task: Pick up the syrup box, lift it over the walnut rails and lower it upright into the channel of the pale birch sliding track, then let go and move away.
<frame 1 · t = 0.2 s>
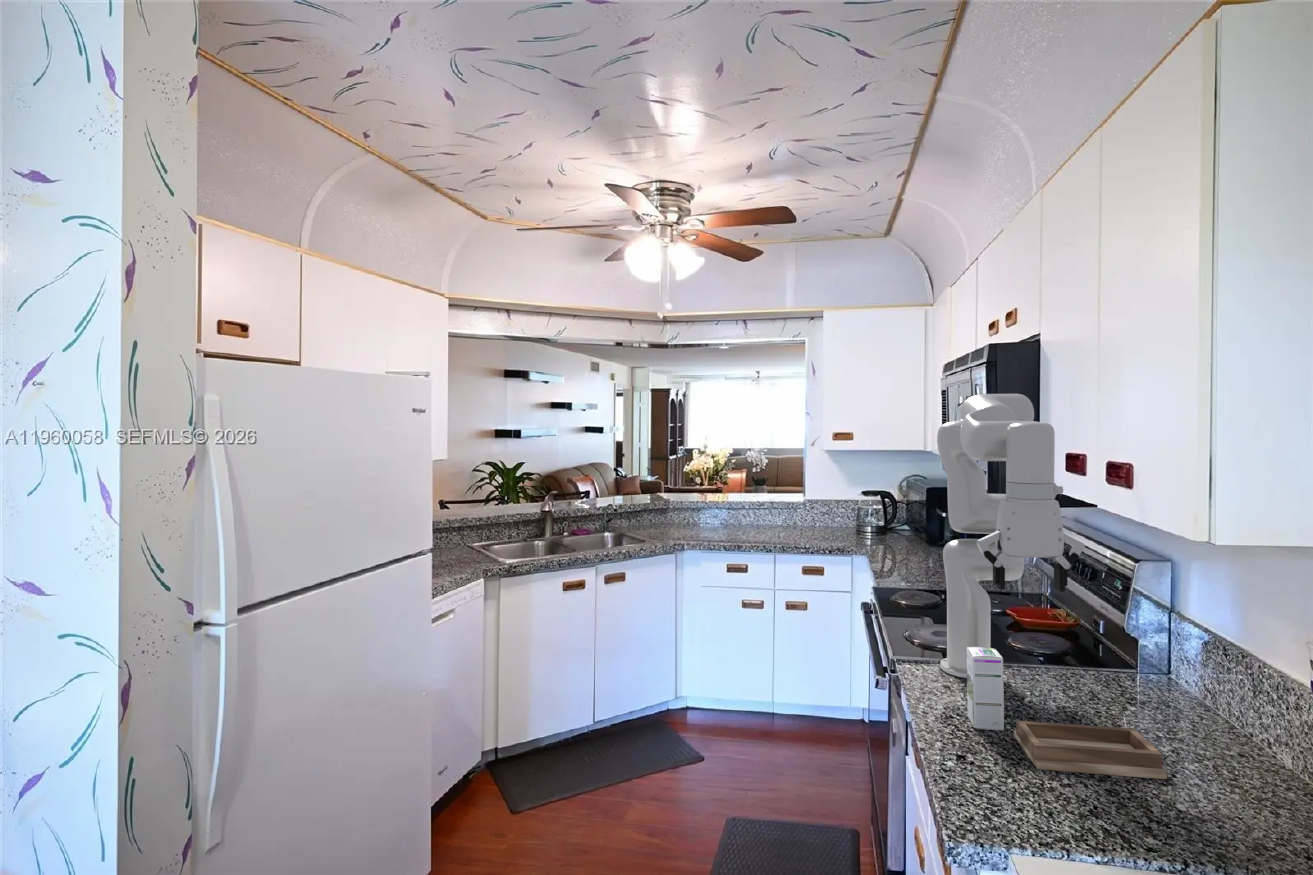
hand: (1029, 589, 123), 31 cm above the worktop, tool pointing down, fingers open, 9 cm apart
bottom track: (1085, 755, 125), on the worktop
syrup box: (984, 724, 138), on the worktop
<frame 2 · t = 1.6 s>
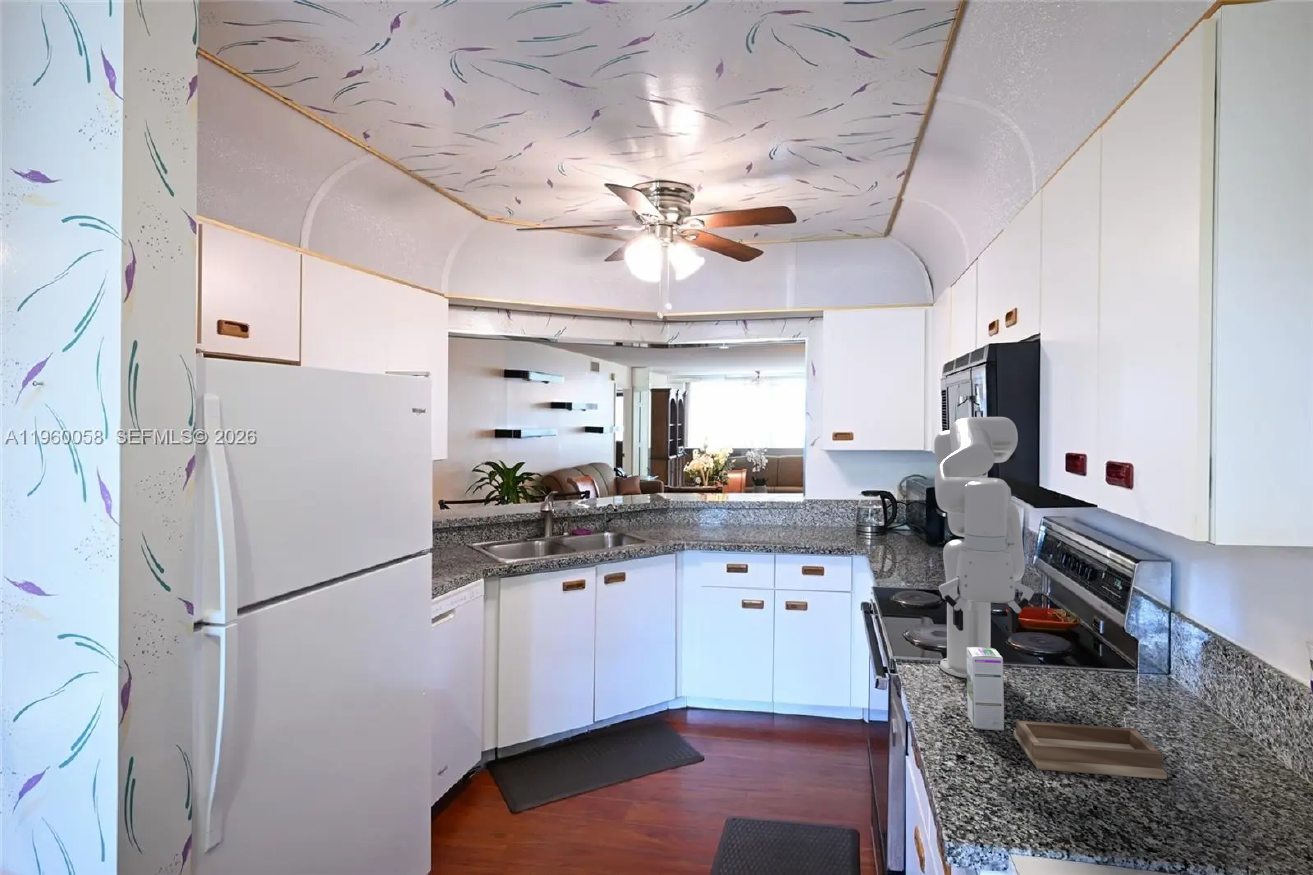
hand: (985, 630, 137), 19 cm above the worktop, tool pointing down, fingers open, 9 cm apart
nothing on the worktop moved.
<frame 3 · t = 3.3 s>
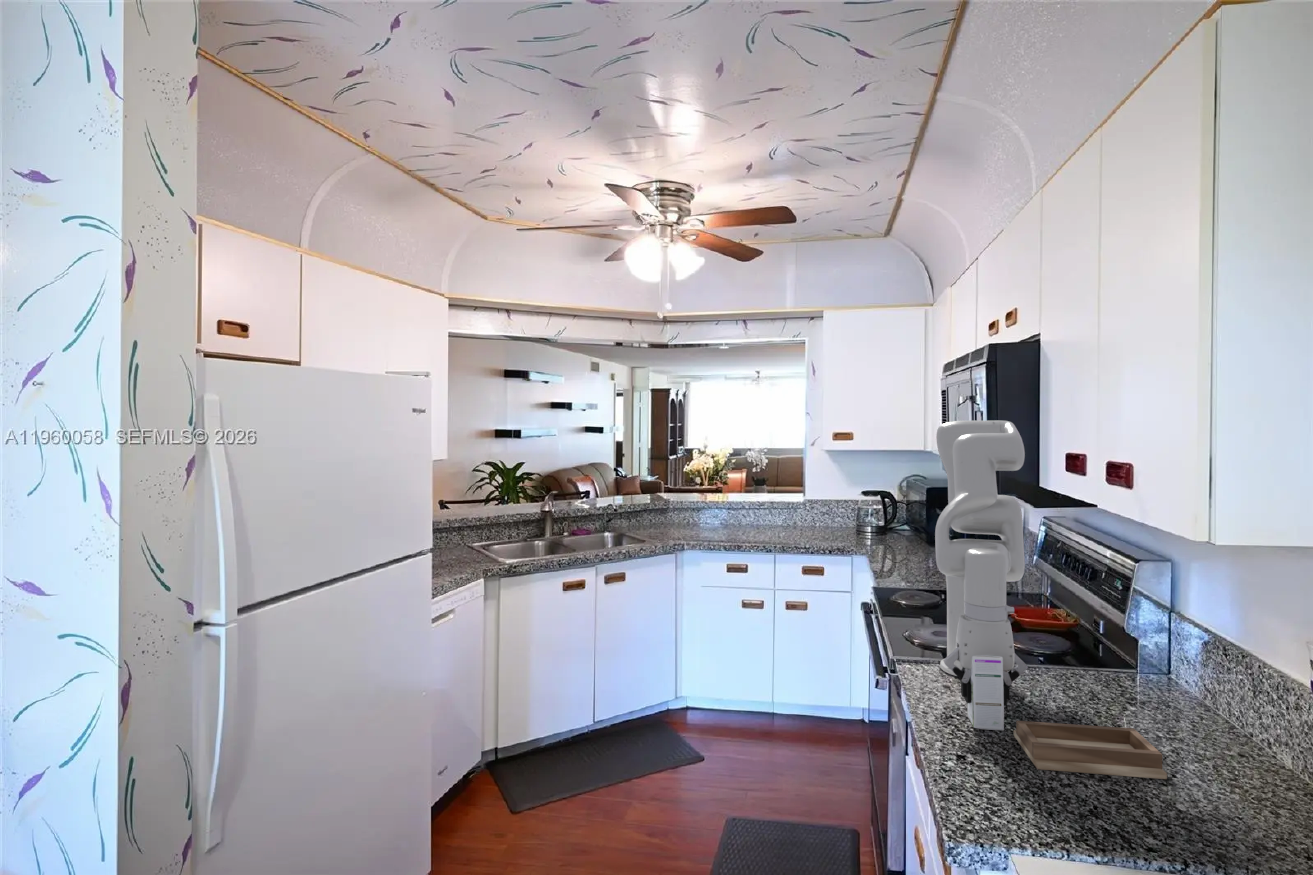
hand: (984, 700, 138), 5 cm above the worktop, tool pointing down, fingers closed on syrup box, 5 cm apart
syrup box: (984, 724, 138), on the worktop, touching gripper
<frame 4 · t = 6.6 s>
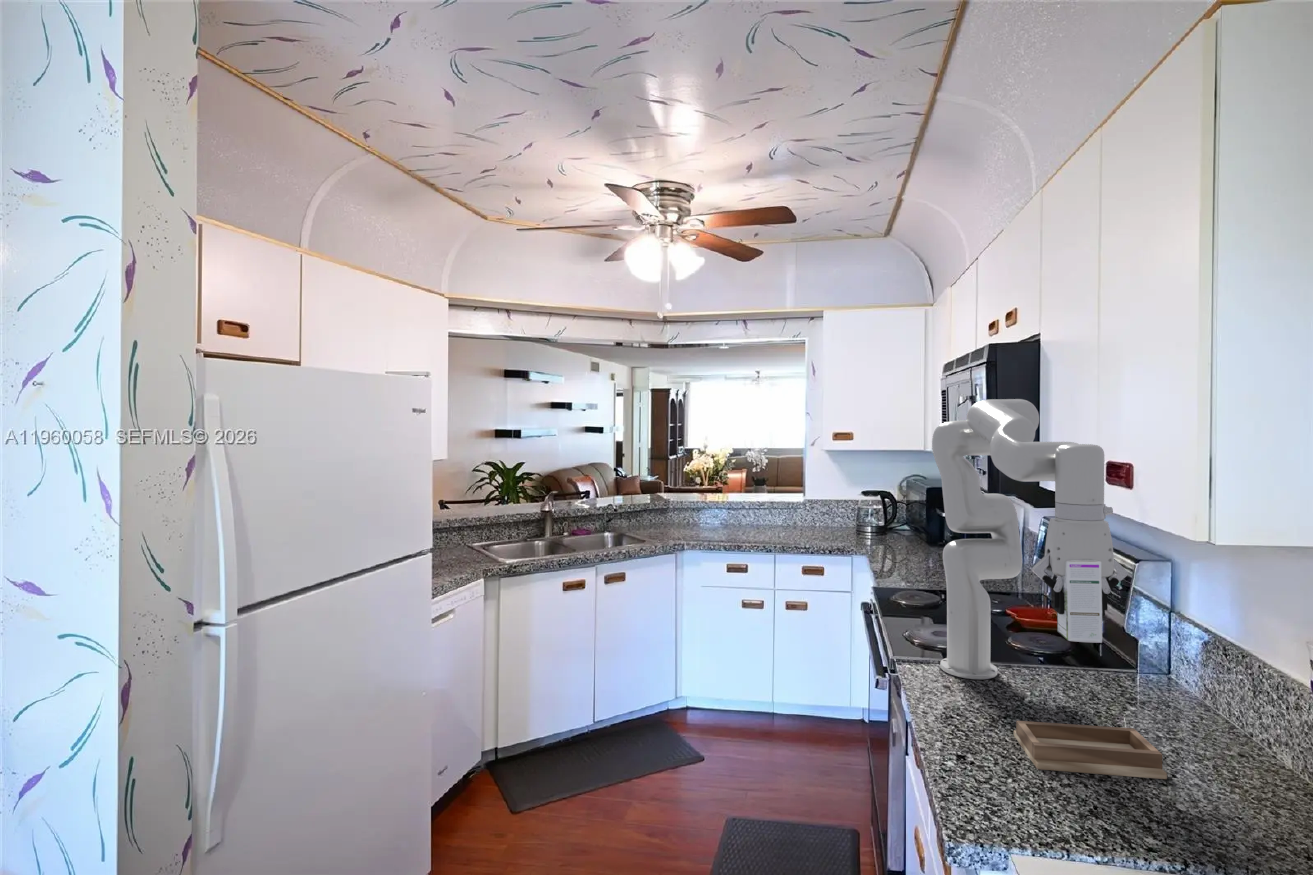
hand: (1079, 612, 125), 26 cm above the worktop, tool pointing down, fingers closed on syrup box, 5 cm apart
syrup box: (1078, 638, 125), point 21 cm above the worktop, touching gripper
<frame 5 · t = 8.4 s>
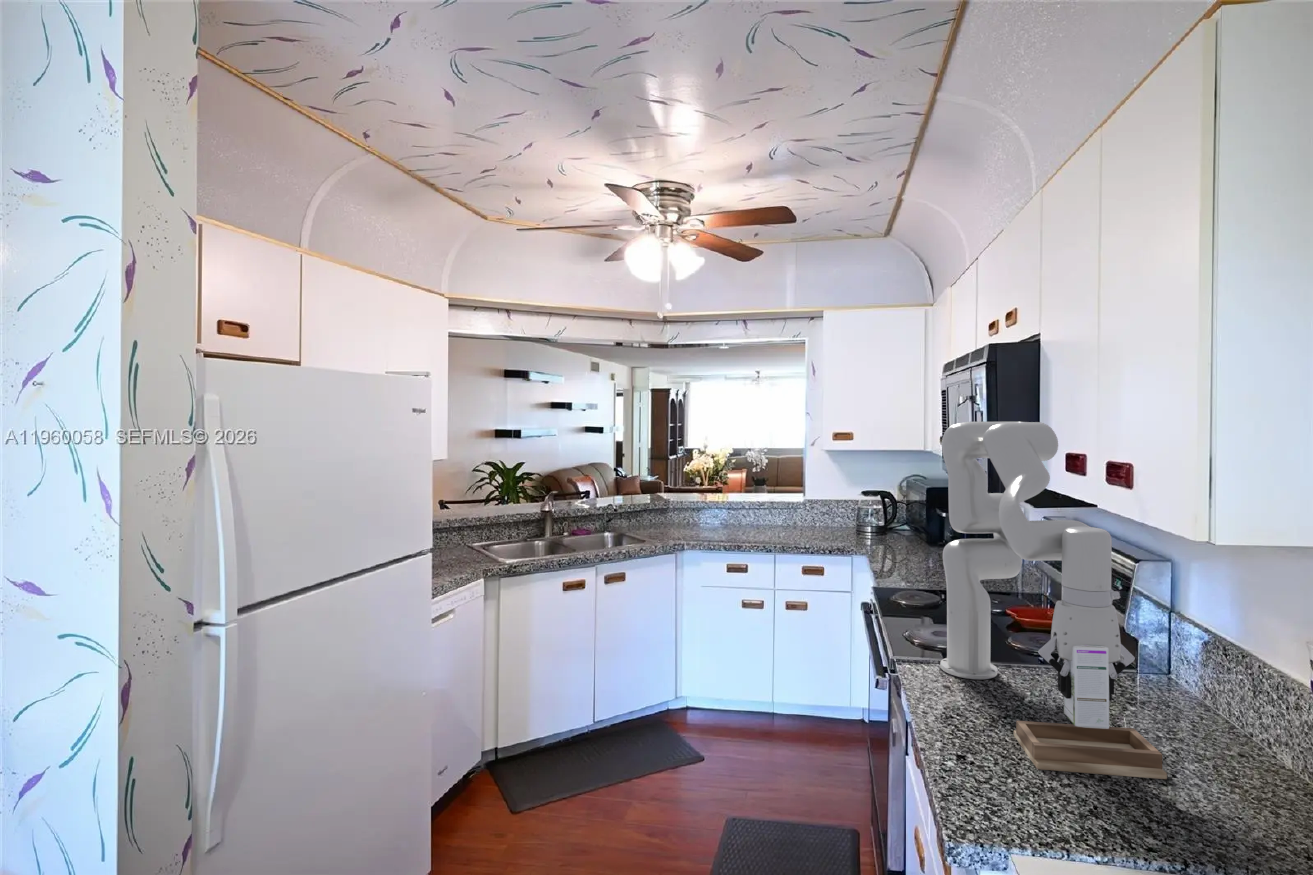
hand: (1085, 695, 124), 11 cm above the worktop, tool pointing down, fingers closed on syrup box, 5 cm apart
syrup box: (1085, 722, 124), point 6 cm above the worktop, touching gripper
when the fingers open (7 cm above the worktop, at t = 10.0 s): syrup box drops 1 cm, resting on bottom track.
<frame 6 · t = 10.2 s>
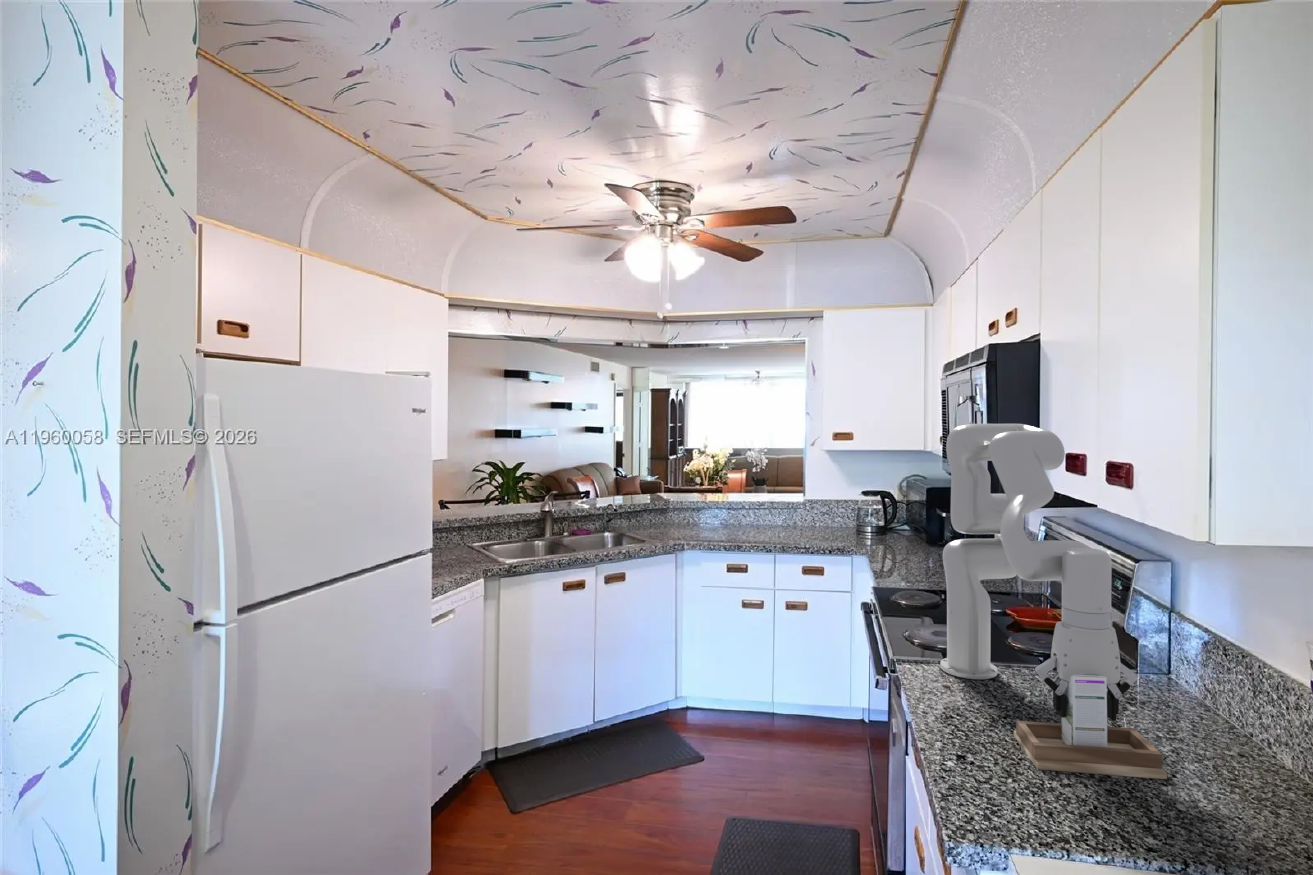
hand: (1085, 715, 125), 7 cm above the worktop, tool pointing down, fingers open, 7 cm apart
syrup box: (1083, 750, 125), point 1 cm above the worktop, touching bottom track
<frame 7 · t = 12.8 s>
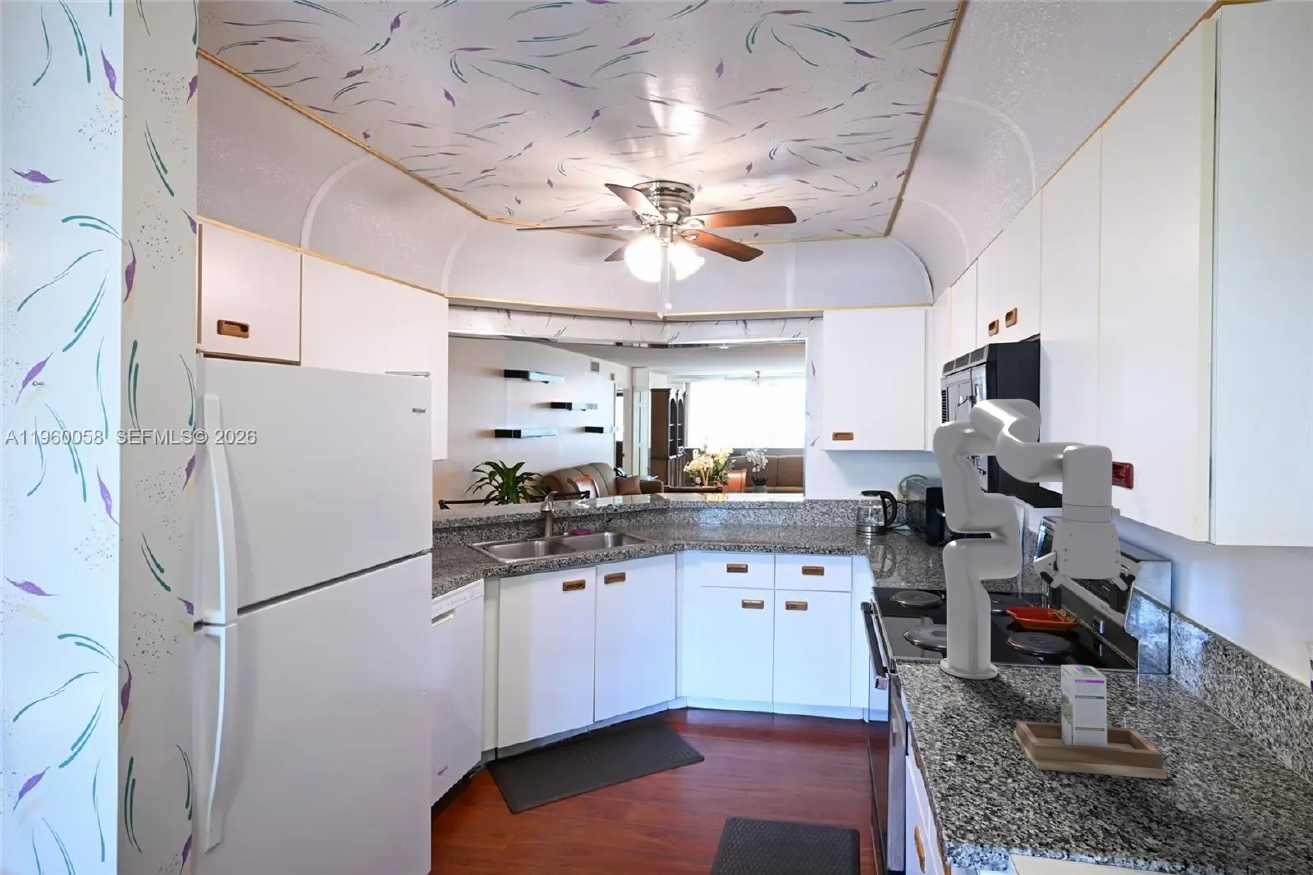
hand: (1085, 609, 124), 26 cm above the worktop, tool pointing down, fingers open, 9 cm apart
nothing on the worktop moved.
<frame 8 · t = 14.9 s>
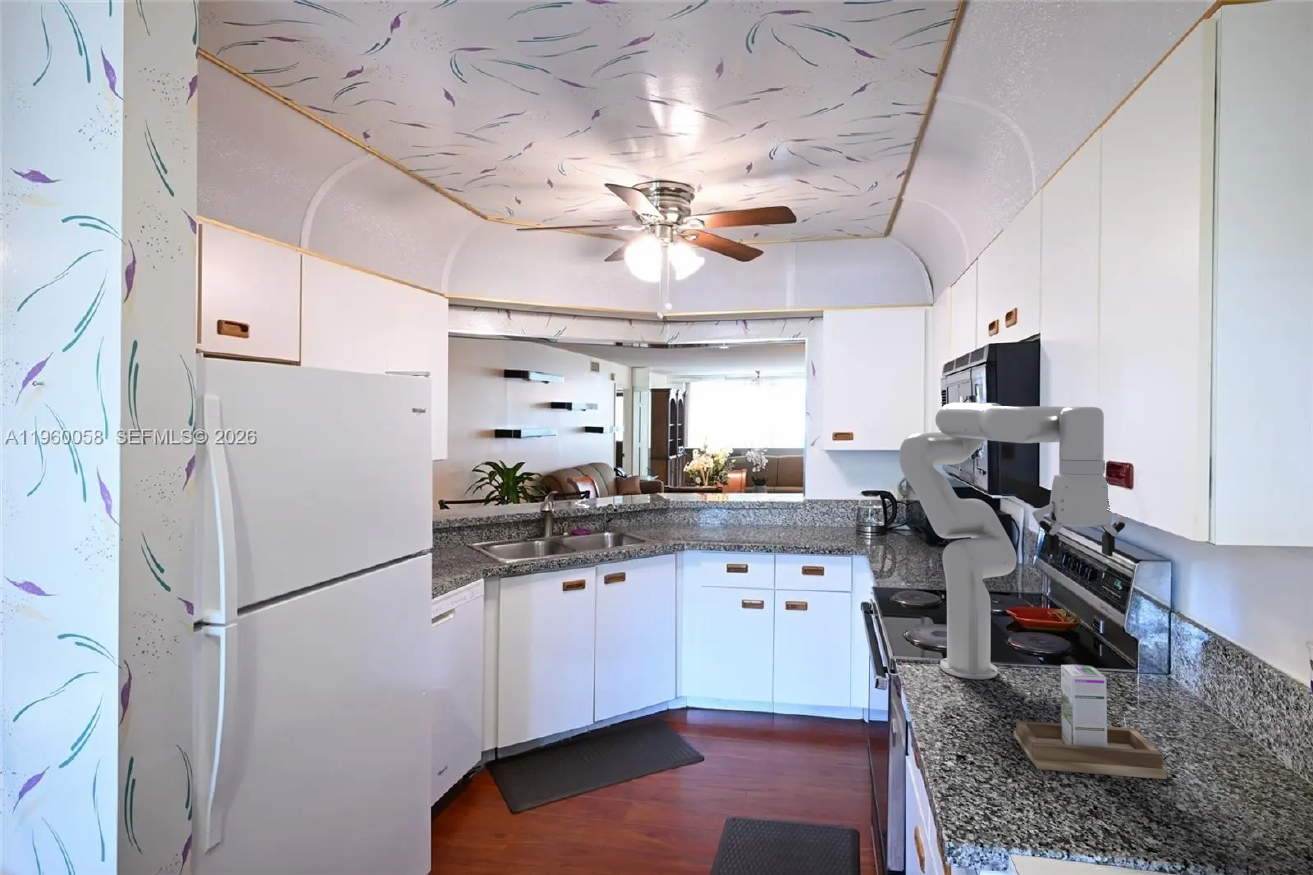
hand: (1080, 554, 139), 33 cm above the worktop, tool pointing down, fingers open, 9 cm apart
nothing on the worktop moved.
at the end: syrup box inside the target area on the bottom track (0.3 cm from its centre), point 0.8 cm above the bottom track's base; syrup box tilted 0°; the gripper is holding nothing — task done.
